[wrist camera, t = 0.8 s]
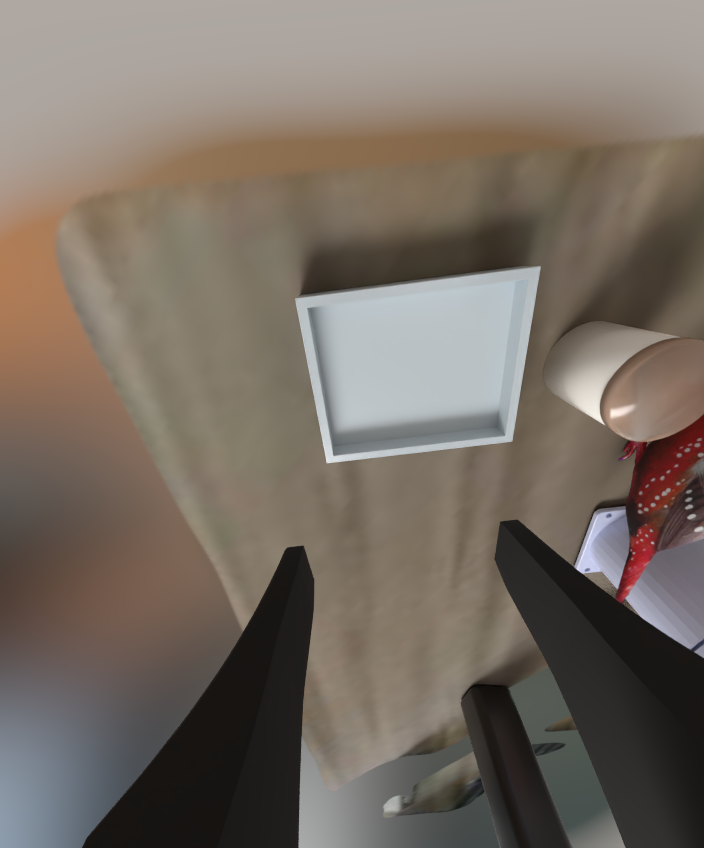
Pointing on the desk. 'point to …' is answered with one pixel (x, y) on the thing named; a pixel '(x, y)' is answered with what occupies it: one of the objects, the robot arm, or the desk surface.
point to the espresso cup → (629, 378)
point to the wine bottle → (511, 772)
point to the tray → (418, 361)
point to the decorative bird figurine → (663, 499)
